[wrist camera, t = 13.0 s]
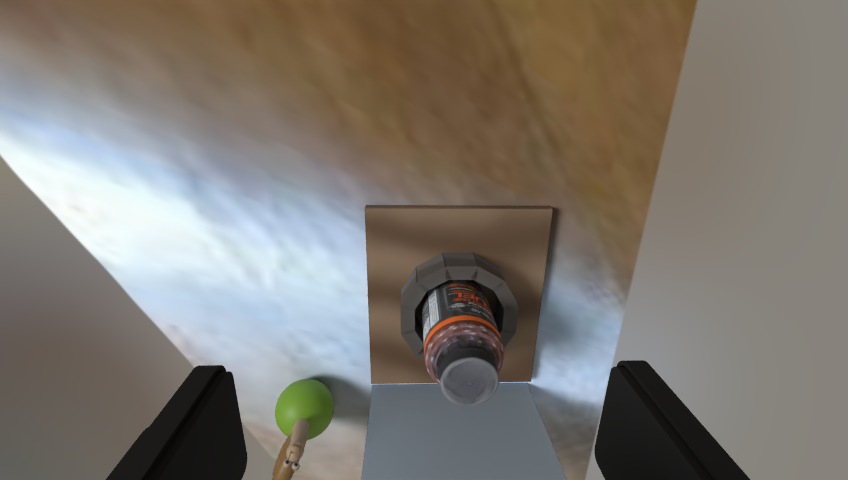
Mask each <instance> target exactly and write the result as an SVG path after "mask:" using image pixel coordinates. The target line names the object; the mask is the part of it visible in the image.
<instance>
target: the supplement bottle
mask: <svg viewBox="0 0 848 480" xmlns="http://www.w3.org/2000/svg"><path fill="white" fill-rule="evenodd" d="M422 321H423V340H424V359H425V364H426V368H427V371H428V372H429V374H430V376H431V377H432V379H433V380H435V381H436V382H437V383H438V384H439V385H440V387H441V390H442V393H443V394H444V396H445V397H446V398H447V399H448V400H449V401H451V402H452V403H454V404H457V405H460V406H475V405H478V404H481V403H483V402H486V401H487V400H488V399H490V398H491V397H492V396H493V395H494V394H495V392H496V390H497V388H498V384H499V376H498V374H499V372H500V370H501V368H502V366H503V362H504V347H503V343H502V340H501V337H500V334H499V331H498V329H497V325H496V323H495V321H494V317H493V315H492V312H491V309H490V306H489V304H488V301H487V298H486V296H485V293H484V291H483V290H482V288H481V287H480V286H479V284H477V283H476V282H475V281H474V280H448V281H446V282H444V283H442V284H440V285H438V286H436V287H434V288H432V289H430V290H428V291H427V292H426V294H425V295H424V297H423V300H422Z"/></svg>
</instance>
